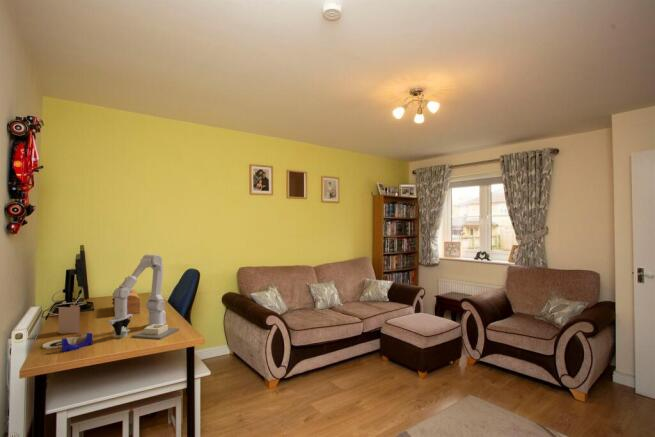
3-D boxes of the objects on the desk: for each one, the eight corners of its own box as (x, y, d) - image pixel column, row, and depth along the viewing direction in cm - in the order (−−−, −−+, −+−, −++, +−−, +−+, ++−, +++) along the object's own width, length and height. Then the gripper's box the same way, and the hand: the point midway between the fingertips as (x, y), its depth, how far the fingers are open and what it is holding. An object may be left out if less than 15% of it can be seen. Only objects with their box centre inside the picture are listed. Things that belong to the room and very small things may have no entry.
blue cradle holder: (64, 353, 161) (64, 340, 161) (61, 350, 163) (61, 338, 164) (93, 345, 170) (93, 334, 170) (90, 344, 173) (90, 332, 173)
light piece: (91, 336, 176) (41, 345, 163) (91, 342, 175) (41, 351, 163) (90, 331, 185) (43, 339, 173) (90, 336, 185) (43, 345, 173)
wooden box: (111, 308, 248) (111, 289, 248) (137, 304, 257) (137, 287, 258) (112, 317, 223) (112, 296, 223) (140, 313, 232) (140, 293, 233)
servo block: (116, 335, 186) (116, 325, 186) (129, 336, 184) (130, 326, 184) (111, 336, 183) (111, 326, 183) (125, 337, 181) (125, 327, 181)
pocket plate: (152, 328, 198) (152, 321, 198) (179, 330, 194) (179, 323, 194) (131, 337, 182) (131, 330, 182) (160, 339, 179) (160, 331, 179)
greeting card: (81, 332, 191) (81, 306, 191) (65, 336, 184) (66, 309, 185) (72, 329, 197) (72, 304, 197) (56, 332, 190) (57, 306, 190)
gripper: (125, 305, 192) (125, 329, 191) (103, 312, 177) (103, 337, 177) (135, 306, 190) (135, 330, 190) (115, 313, 176) (114, 338, 176)
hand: (120, 333), depth 184 cm, fingers closed on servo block, 3 cm apart
